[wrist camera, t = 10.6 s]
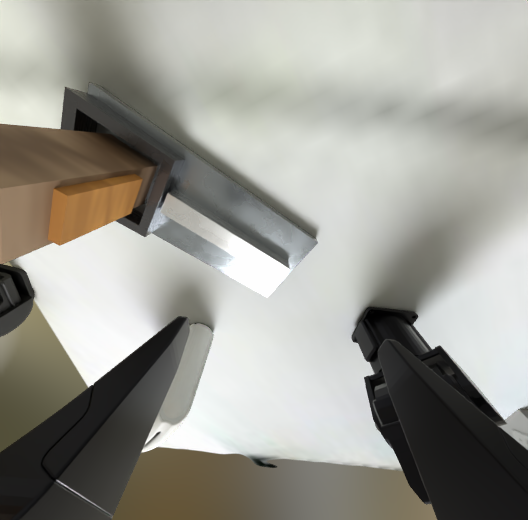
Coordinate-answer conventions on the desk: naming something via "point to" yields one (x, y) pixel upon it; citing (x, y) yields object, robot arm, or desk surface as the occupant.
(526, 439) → the portable television
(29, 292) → the end cap
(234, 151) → the desk surface
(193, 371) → the photo printer
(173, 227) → the rail
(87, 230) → the brown tall block
